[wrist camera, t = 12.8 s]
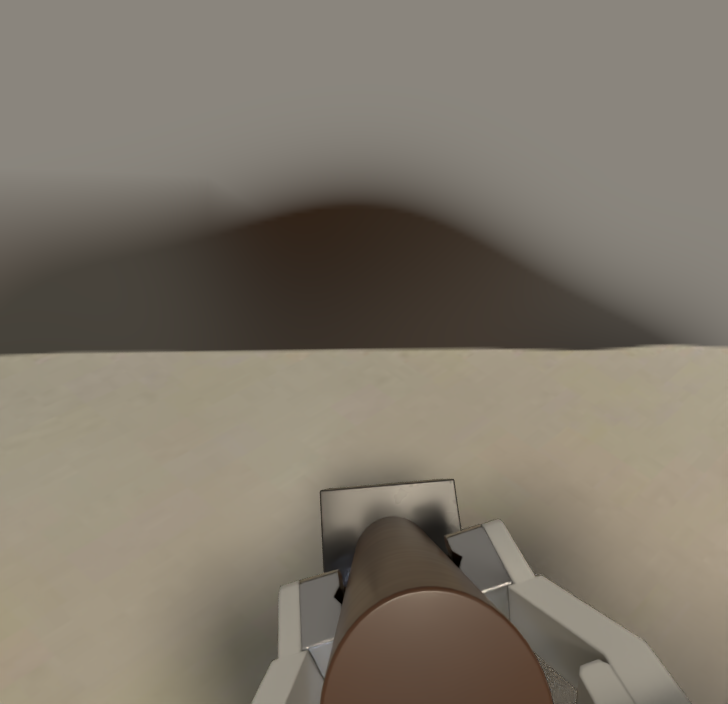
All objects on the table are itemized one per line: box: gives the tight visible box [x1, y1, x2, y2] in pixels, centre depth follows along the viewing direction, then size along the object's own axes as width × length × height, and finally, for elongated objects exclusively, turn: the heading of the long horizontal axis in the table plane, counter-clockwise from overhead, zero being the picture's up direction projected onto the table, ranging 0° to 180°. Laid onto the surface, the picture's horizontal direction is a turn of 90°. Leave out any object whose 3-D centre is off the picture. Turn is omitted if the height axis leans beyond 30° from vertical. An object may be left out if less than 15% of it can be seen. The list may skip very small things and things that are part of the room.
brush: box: [320, 479, 553, 704], centre depth 11 cm, size 5×5×13 cm
